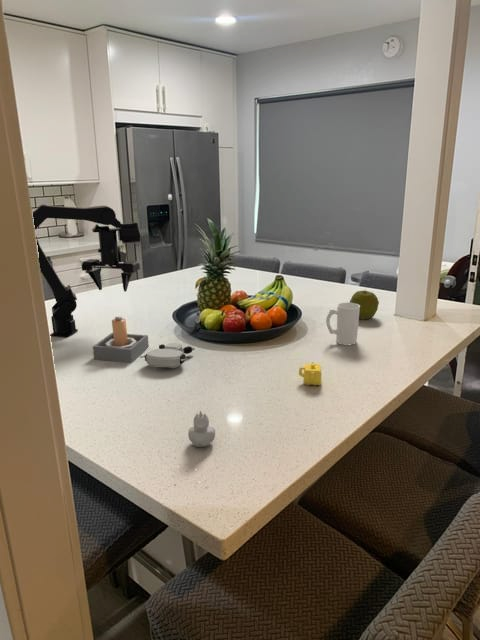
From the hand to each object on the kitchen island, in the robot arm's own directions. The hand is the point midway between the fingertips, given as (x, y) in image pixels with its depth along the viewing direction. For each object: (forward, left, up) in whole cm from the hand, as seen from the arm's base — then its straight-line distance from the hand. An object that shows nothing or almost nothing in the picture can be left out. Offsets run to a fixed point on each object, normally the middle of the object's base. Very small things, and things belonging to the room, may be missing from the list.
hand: (113, 290), depth 164 cm
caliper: (+28, +12, -14) cm, 33 cm away
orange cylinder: (+13, -22, -12) cm, 28 cm away
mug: (+77, +1, -13) cm, 78 cm away
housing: (+13, -22, -13) cm, 29 cm away
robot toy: (+29, -25, -13) cm, 41 cm away
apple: (+84, +27, -13) cm, 89 cm away
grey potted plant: (+51, -63, -13) cm, 82 cm away
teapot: (+70, -30, -13) cm, 77 cm away
